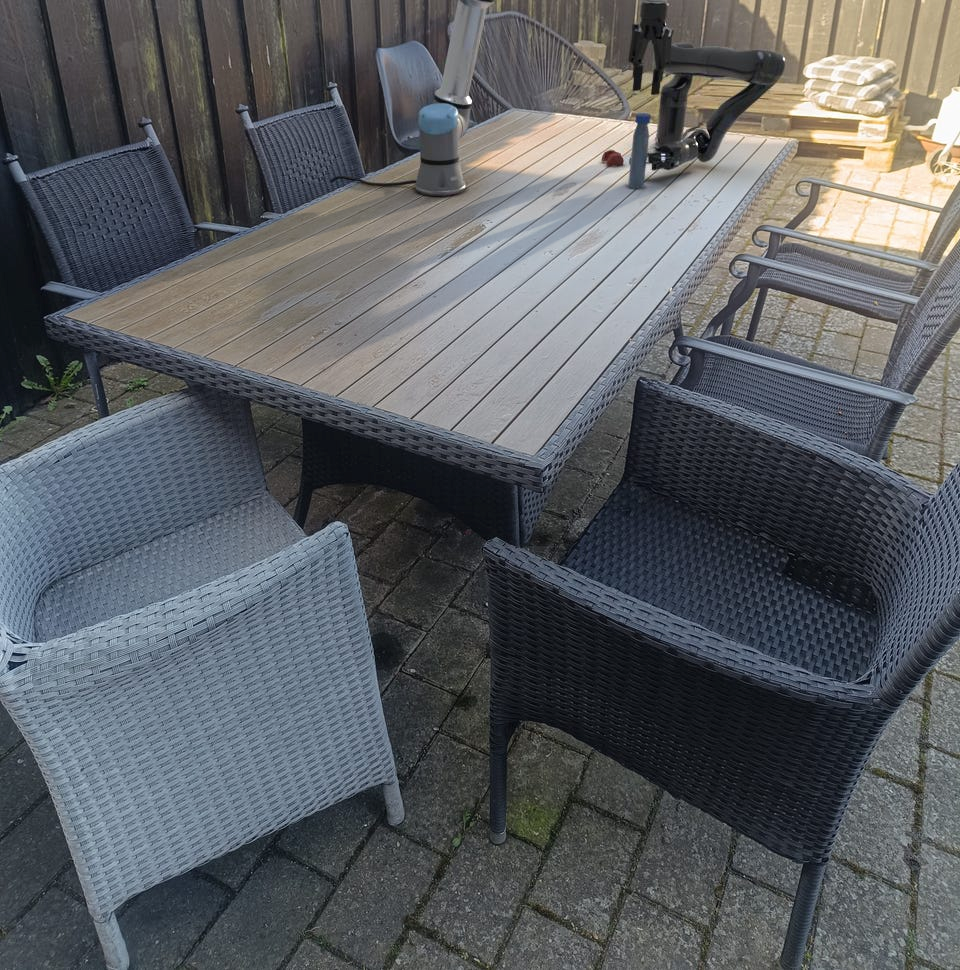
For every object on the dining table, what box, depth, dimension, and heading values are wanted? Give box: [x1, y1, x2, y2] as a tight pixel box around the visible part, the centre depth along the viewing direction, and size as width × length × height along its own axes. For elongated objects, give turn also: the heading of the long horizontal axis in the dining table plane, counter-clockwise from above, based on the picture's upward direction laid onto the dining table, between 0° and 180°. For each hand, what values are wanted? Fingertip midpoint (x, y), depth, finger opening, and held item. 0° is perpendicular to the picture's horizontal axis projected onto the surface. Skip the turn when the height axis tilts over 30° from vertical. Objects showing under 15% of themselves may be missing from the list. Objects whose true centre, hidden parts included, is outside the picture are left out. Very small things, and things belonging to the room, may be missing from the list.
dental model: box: [601, 149, 625, 167], centre depth 281 cm, size 6×4×8 cm
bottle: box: [627, 123, 650, 190], centre depth 255 cm, size 5×5×20 cm
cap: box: [635, 112, 652, 125], centre depth 250 cm, size 4×4×2 cm
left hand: (645, 92), depth 245 cm, fingers open, 7 cm apart
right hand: (641, 164), depth 258 cm, fingers open, 8 cm apart
